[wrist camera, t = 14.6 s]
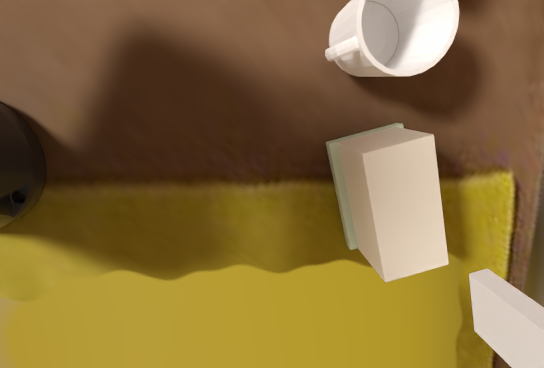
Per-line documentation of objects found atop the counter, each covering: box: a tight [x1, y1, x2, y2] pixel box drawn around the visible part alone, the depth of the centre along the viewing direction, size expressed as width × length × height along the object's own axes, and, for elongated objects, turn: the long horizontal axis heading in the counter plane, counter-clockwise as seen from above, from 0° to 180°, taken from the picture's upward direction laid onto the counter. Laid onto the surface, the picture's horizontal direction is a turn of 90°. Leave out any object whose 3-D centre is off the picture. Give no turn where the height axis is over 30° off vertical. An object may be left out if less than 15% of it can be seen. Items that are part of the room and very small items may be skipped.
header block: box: [326, 123, 404, 250], centre depth 40 cm, size 9×14×6 cm, turn 14°
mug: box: [325, 0, 459, 77], centre depth 33 cm, size 11×9×10 cm
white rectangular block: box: [337, 127, 449, 282], centre depth 37 cm, size 14×7×8 cm, turn 14°
